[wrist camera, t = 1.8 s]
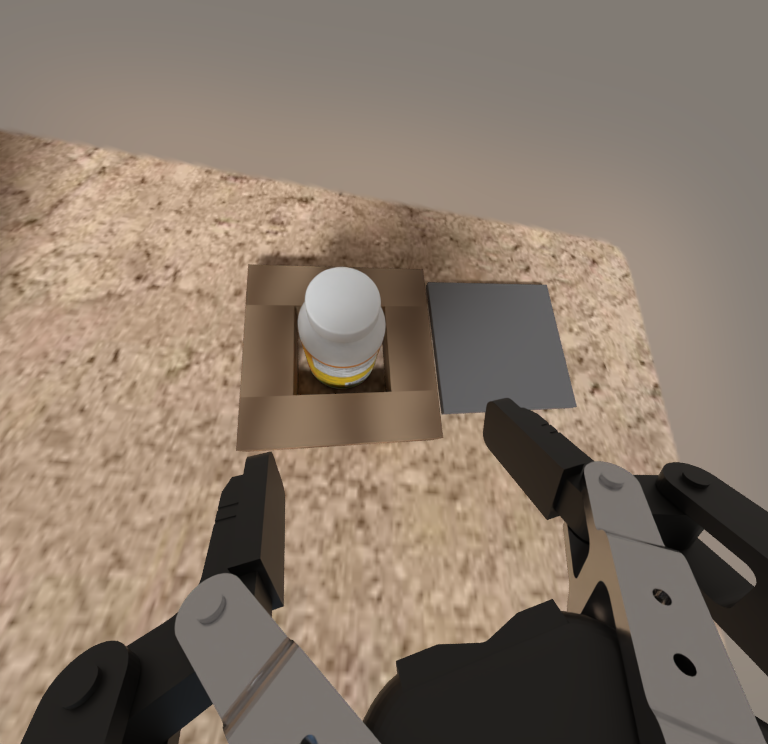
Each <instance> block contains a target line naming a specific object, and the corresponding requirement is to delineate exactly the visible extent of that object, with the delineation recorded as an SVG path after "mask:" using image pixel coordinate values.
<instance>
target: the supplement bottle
mask: <svg viewBox="0 0 768 744" xmlns="http://www.w3.org/2000/svg"><path fill="white" fill-rule="evenodd" d="M385 326H386V323H385V316H384V313H383V310H382V308H381V298H380V294H379V291H378V288H377V286H376V285H375V283H374V282H373V281H372V280H371V279H370V278H369V277H368V276H367V275H365V274H364V273H362V272H360V271H358V270H356V269H353V268H348V267H335V268H330V269H327V270H325V271H323V272H321V273H319V274H318V275H317V276H315V277H314V279H313V280H312V281H311V282H310V284H309V285H308V287H307V290H306V293H305V302H304V303H303V305H302V307H301V309H300V312H299V315H298V331H299V336H300V339H301V342H302V345H303V349H304V352H305V355H306V358H307V361H308V364H309V367H310V369H311V371H312V373H313V375H314V376H315V377H316V378H317V379H318V380H319V381H320V382H321V383H323V384H324V385H326V386H329V387H331V388H335V389H348V388H352V387H355V386H357V385H359V384H361V383H362V382H363V381H364V380H365V379H366V378H367V377H368V376H369V375H370V373H371V371H372V369H373V367H374V364H375V361H376V358H377V355H378V352H379V350H380V347H381V344H382V341H383V338H384V334H385Z"/></svg>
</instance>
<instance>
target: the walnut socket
mask: <svg viewBox="0 0 768 744" xmlns="http://www.w3.org/2000/svg"><path fill="white" fill-rule="evenodd" d="M330 268H335V267H320V266H284V265H249V264H248V277H247V292H246V307H245V323H244V338H243V354H242V369H241V385H240V400H239V415H238V431H237V446H236V450H237V451H246V452H250V451H266V450H282V449H298V448H313V447H329V446H345V445H361V444H377V443H392V442H408V441H424V440H435V439H439V438H443V433H442V425H441V417H440V408H439V400H438V392H437V383H436V375H435V367H434V358H433V350H432V342H431V333H430V325H429V317H428V308H427V300H426V292H425V283H424V275H423V269H391V268H355V267H348V268H353V269H356V270H358V271H360V272H362V273H364V274H365V275H367V276H368V277H369V278H370V279H371V280H372V281H373V282H374V283H375V285H376V286H377V288H378V291H379V294H380V298H381V308H382V310H383V313H384V316H385V323H386V326H385V334H384V338H383V341H382V343H383V357H384V371H385V385H386V392H374V393H346V394H319V395H298V315H299V312H300V309H301V307H302V305H303V303H304V302H305V293H306V290H307V287H308V285H309V284H310V282H311V281H312V280H313V279H314V277H315V276H317V275H318V274H319V273H321V272H323V271H325V270H327V269H330Z"/></svg>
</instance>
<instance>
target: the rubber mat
mask: <svg viewBox="0 0 768 744" xmlns="http://www.w3.org/2000/svg"><path fill="white" fill-rule="evenodd" d="M426 289H427V297H428V305H429V314H430V322H431V330H432V338H433V347H434V355H435V363H436V371H437V380H438V388H439V396H440V404H441V413H442V414H459V413H480V412H486V405H487V403H488V402H490V401H494V400H498V399H503V398H510V399H511V400H513V401H514V402H515V403H516V404H517V405H518V406H520V407H521V408H523V407H524V408H526V409H528V410H540V409H560V408H573V407H577V406H576V402H575V398H574V394H573V390H572V386H571V381H570V377H569V373H568V369H567V365H566V361H565V357H564V353H563V349H562V345H561V341H560V337H559V333H558V329H557V325H556V321H555V317H554V313H553V309H552V304H551V300H550V296H549V292H548V288H547V285H531V284H484V283H437V282H428V283H427V285H426Z"/></svg>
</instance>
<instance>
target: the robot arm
mask: <svg viewBox="0 0 768 744" xmlns="http://www.w3.org/2000/svg"><path fill="white" fill-rule="evenodd" d="M483 437H484V441H485V444H486V446H487V447H488V449H489V450H490V451H491V452H492V453H493V455H494V456H495V457H496V458H497V460H498V461H499V462H500V463H501V464H502V466H503V467H504V468H505V469H506V471H507V472H508V473H509V474H510V475H511V477H512V478H513V479H514V480H515V481H516V483H517V484H518V485H519V486H520V488H521V489H522V490H523V491H524V492H525V494H526V495H527V496H528V497H529V499H530V500H531V501H532V502H533V503H534V505H535V506H536V507H537V508H538V510H539V511H540V512H541V513H542V514H543V516H544V517H545V518H546V519H547V520H549V519H552V518H555V517H557V516H561V518H562V519H563V520H564V524H563V533H564V542H565V551H566V560H567V568H568V577H569V594H568V601H567V612H566V611H560V609H559V608H558V606H557V605H556V603H555V602H554V600H553V599H551V600H549V601H546V602H544V603H541V604H539V605H536V606H533V607H531V608H528V609H526V610H523V611H521V612H518V613H517V614H516V615H515V616H513V617H512V618H511V619H510V620H509V621H508V622H507V623H506V624H505V625H504V626H503V627H502V628H501V629H499V630H498V631H497V632H496V633H495V634H494V635H493V636H492V637H491V638H490V639H489V640H487V641H486V642H483V643H464V644H438V645H435V646H433V647H430V648H428V649H425V650H422V651H420V652H417V653H415V654H412V655H410V656H407V657H405V658H402V659H400V660H397V661H396V667H397V675H396V676H394V677H393V678H392V679H391V680H390V681H389V682H388V683H387V684H386V685H385V686H384V687H383V689H382V690H381V691H380V692H379V694H378V695H377V697H376V698H375V700H374V701H373V703H372V704H371V706H370V708H369V710H368V712H367V714H366V716H365V717H364V720H363V722H362V720H361V719H360V718H359V717H358V716H357V714H356V713H355V712H354V711H353V710H352V708H351V707H350V706H349V705H348V704H347V702H346V701H345V700H344V699H343V698H342V696H341V695H340V694H339V693H338V692H337V691H336V689H335V688H334V687H333V686H332V685H331V683H330V682H329V681H328V680H327V679H326V677H325V676H324V675H323V674H322V673H321V671H320V670H319V669H318V668H317V667H316V666H315V664H314V663H313V662H312V661H311V660H310V658H309V657H308V656H307V655H306V654H305V652H304V651H303V650H302V649H301V648H300V647H299V646H298V645H297V644H296V643H295V642H294V641H293V640H290V639H289V638H288V637H287V635H286V634H285V633H284V632H283V631H282V630H281V628H280V627H279V626H278V625H277V624H276V622H275V621H274V620H273V619H272V610H274V609H277V608H280V607H283V606H284V548H285V492H284V487H283V483H282V480H281V477H280V474H279V471H278V468H277V465H276V462H275V459H274V456H273V454H272V452H267V453H263V454H258V455H254V456H250V457H247V459H246V462H245V468H244V474H243V475H239V476H235V477H232V478H231V479H230V481H229V482H228V484H227V485H226V487H225V488H224V490H223V491H222V493H221V497H220V502H219V506H218V511H217V514H216V518H215V524H214V527H213V531H212V535H211V540H210V544H209V548H208V552H207V556H206V561H205V565H204V569H203V573H202V577H201V580H200V583H199V585H198V586H197V587H196V588H195V589H194V590H193V591H192V592H191V593H190V594H189V595H188V596H187V598H186V599H185V601H184V602H183V604H182V605H181V607H180V609H179V612H178V613H176V614H175V615H174V616H173V617H172V618H170V619H169V620H167V621H166V622H164V623H163V624H161V625H160V626H158V627H156V628H155V629H153V630H152V631H150V632H149V633H147V634H145V635H144V636H142V637H141V638H139V639H137V640H136V641H134V642H133V643H131V644H130V645H128V646H125V645H124V644H123V643H121V642H119V641H106V642H103V643H100V644H98V645H95V646H93V647H91V648H90V649H88V650H86V651H85V652H83V653H82V654H81V655H79V656H78V657H77V658H76V659H74V660H73V661H72V662H71V663H70V664H69V665H68V666H67V667H66V668H65V669H64V670H63V671H62V672H61V673H60V674H59V675H58V676H57V677H56V678H55V680H54V681H53V682H52V684H51V685H50V686H49V688H48V689H47V691H46V692H45V694H44V696H43V697H42V699H41V701H40V703H39V705H38V707H37V709H36V711H35V713H34V716H33V718H32V720H31V722H30V724H29V726H28V729H27V731H26V733H25V735H24V737H23V739H22V742H21V744H178V743H179V737H180V731H181V729H182V728H183V727H184V726H186V725H187V724H188V723H189V722H191V721H192V720H193V719H194V718H196V717H197V716H198V715H199V714H201V713H202V712H203V711H204V710H206V709H207V708H208V707H209V706H211V705H212V704H213V705H214V706H215V708H216V710H217V712H218V714H219V716H220V718H221V720H222V722H223V731H224V734H225V737H226V739H227V741H228V743H229V744H768V724H767V723H766V722H764V721H762V720H761V719H759V718H758V717H756V716H754V714H753V711H752V709H751V707H750V705H749V702H748V700H747V698H746V695H745V693H744V691H743V688H742V686H741V684H740V682H739V679H738V677H737V675H736V673H735V670H734V668H733V665H732V663H731V661H730V658H729V656H728V654H727V652H726V649H725V647H724V645H723V642H722V640H721V638H720V635H719V633H718V631H717V629H716V626H715V624H714V622H713V620H714V621H715V622H716V623H717V624H718V625H719V626H720V627H721V628H722V629H723V630H724V631H725V632H726V633H727V635H728V636H729V637H730V638H731V639H732V640H733V641H734V642H735V643H736V644H737V645H738V646H739V647H740V648H741V649H742V650H743V651H744V652H745V653H746V654H747V655H748V656H749V657H750V658H751V659H752V660H753V661H754V662H755V663H756V665H757V666H759V668H760V669H761V670H762V671H763V672H764V673H765V674H766V675H767V676H768V512H767V511H766V510H764V509H763V508H761V507H760V506H758V505H757V504H755V503H754V502H752V501H751V500H749V499H748V498H746V497H745V496H743V495H742V494H740V493H739V492H737V491H736V490H735V489H733V488H732V487H730V486H729V485H727V484H726V483H724V482H723V481H721V480H720V479H718V478H717V477H715V476H714V475H712V474H711V473H709V472H707V471H705V470H703V469H701V468H699V467H696V466H693V465H690V464H685V463H679V462H673V463H668V464H666V465H665V466H664V467H663V469H662V470H661V472H660V474H659V475H632V474H631V473H630V472H628V471H627V470H625V469H623V468H621V467H619V466H617V465H615V464H612V463H608V462H601V461H597V462H595V461H593V460H592V459H591V458H590V457H589V456H587V455H586V454H585V453H584V452H583V451H581V450H580V449H579V448H578V447H577V446H575V445H574V444H573V443H572V442H571V441H569V440H568V439H567V438H566V437H565V436H563V435H562V434H561V433H560V432H559V433H558V431H557V430H556V429H555V428H554V427H553V426H552V425H549V423H548V422H547V421H546V420H544V419H543V418H542V417H541V416H540V415H538V414H537V413H535V412H533V411H530V410H528V409H526V408H524V407H523V408H521V407H520V406H518V405H517V404H516V403H515V402H514V401H513V400H511V399H510V398H503V399H498V400H494V401H490V402H488V403H487V405H486V412H485V420H484V428H483ZM704 529H705V530H706V531H707V532H708V533H709V534H711V535H712V536H713V537H714V538H716V539H717V540H718V541H719V542H720V543H722V544H723V545H724V546H725V547H726V548H728V549H729V550H730V551H731V552H733V553H734V554H735V555H736V556H737V557H739V558H740V559H741V560H742V561H743V562H744V563H746V564H747V565H748V566H749V567H750V568H751V570H752V571H753V573H754V574H755V577H756V582H757V583H756V585H755V587H754V586H753V585H752V584H750V583H749V582H748V581H747V580H746V579H744V578H743V577H742V576H741V575H740V574H739V573H737V571H735V570H734V569H733V568H732V567H731V566H730V565H728V564H727V563H726V562H725V561H724V560H723V559H721V558H720V557H719V556H718V555H717V554H716V553H715V552H713V551H712V550H711V549H710V548H709V547H708V546H706V545H705V544H704V543H703V542H702V541H701V540H699V539H698V536H699V535H700V534H701V532H702V531H703V530H704Z"/></svg>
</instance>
